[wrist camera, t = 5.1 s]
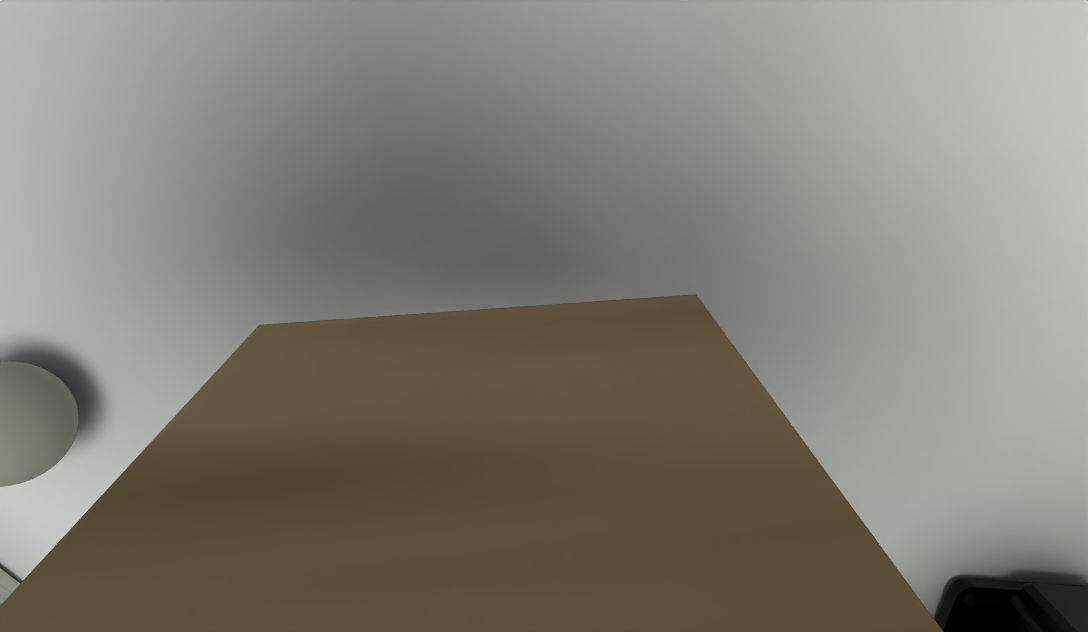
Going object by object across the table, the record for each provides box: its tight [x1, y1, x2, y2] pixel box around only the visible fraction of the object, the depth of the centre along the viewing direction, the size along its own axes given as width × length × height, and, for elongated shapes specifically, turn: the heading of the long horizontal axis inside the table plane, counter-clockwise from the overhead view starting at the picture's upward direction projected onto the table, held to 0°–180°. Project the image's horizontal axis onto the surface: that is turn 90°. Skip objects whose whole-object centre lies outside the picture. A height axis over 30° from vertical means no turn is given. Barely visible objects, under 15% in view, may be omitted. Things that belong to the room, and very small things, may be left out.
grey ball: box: [0, 361, 79, 487], centre depth 19 cm, size 3×3×3 cm
